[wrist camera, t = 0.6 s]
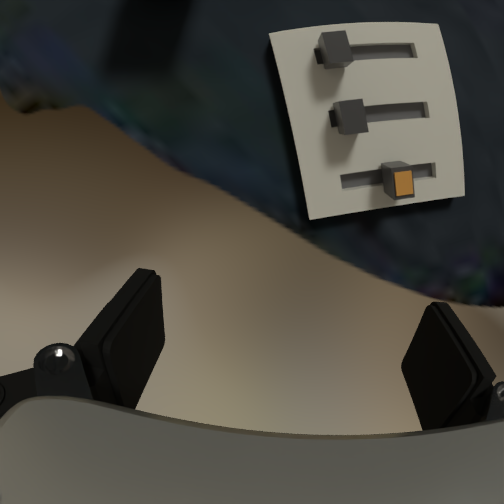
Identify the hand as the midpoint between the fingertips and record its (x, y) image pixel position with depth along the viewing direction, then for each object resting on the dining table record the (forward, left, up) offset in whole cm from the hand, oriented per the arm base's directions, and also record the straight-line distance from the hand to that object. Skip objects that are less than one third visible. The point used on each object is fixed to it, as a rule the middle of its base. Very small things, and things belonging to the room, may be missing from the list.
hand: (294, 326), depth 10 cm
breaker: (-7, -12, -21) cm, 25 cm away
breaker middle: (-7, -6, -21) cm, 23 cm away
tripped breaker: (-10, 0, -21) cm, 23 cm away
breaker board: (-10, -6, -22) cm, 25 cm away
